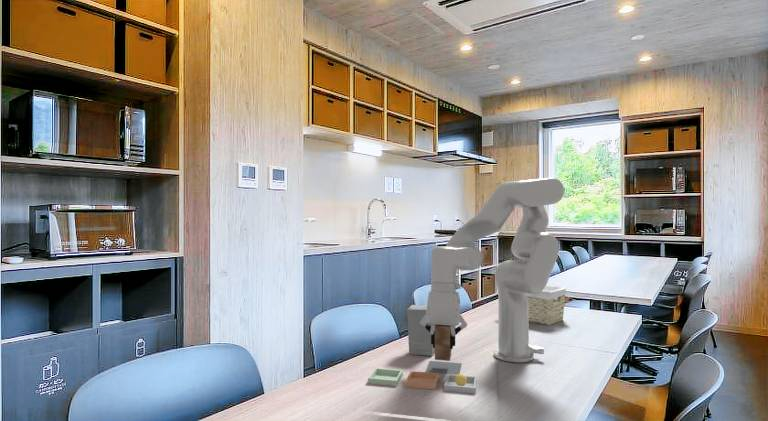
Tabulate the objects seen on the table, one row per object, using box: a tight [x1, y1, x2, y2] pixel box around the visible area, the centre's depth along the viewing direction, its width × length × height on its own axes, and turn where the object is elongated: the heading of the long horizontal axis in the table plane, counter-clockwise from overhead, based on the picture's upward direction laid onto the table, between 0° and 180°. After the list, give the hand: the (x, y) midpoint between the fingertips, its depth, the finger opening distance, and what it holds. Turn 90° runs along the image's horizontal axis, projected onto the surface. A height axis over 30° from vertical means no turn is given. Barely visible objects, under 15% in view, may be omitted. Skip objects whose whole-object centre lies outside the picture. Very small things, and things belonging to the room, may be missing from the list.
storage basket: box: [526, 284, 567, 326], centre depth 198 cm, size 24×16×15 cm
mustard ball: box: [455, 373, 467, 386], centre depth 121 cm, size 3×3×3 cm
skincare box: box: [406, 304, 435, 357], centre depth 151 cm, size 8×7×16 cm
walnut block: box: [434, 325, 452, 362], centre depth 135 cm, size 4×4×10 cm
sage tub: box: [367, 367, 404, 387], centre depth 126 cm, size 8×8×2 cm
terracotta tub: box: [404, 370, 440, 390], centre depth 123 cm, size 8×8×2 cm
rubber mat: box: [424, 360, 463, 375], centre depth 135 cm, size 10×10×1 cm
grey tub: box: [443, 374, 478, 395], centre depth 121 cm, size 8×8×2 cm
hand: (443, 346), depth 135 cm, fingers closed on walnut block, 4 cm apart
